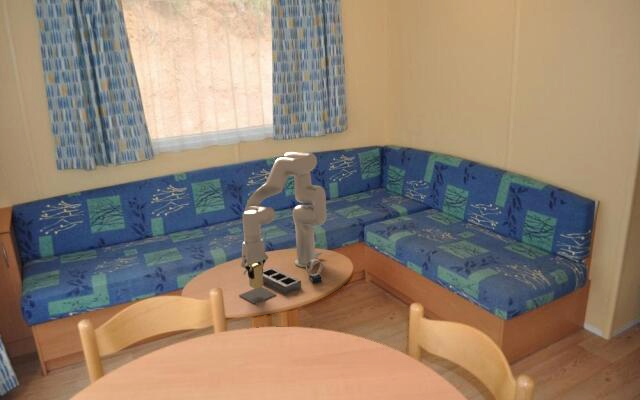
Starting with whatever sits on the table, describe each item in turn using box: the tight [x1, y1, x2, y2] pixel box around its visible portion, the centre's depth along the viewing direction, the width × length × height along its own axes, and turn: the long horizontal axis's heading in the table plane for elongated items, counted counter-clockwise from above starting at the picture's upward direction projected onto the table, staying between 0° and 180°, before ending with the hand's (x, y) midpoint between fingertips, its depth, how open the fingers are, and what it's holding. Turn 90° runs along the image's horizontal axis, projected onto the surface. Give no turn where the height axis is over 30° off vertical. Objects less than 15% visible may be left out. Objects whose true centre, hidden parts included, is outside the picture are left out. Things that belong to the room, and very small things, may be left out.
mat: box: [239, 286, 277, 305], centre depth 218 cm, size 12×12×1 cm
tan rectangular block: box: [248, 263, 264, 289], centre depth 215 cm, size 4×4×10 cm
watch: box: [305, 258, 324, 285], centre depth 228 cm, size 6×8×11 cm
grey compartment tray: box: [263, 267, 302, 295], centre depth 228 cm, size 22×9×4 cm, turn 43°
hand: (255, 276), depth 215 cm, fingers closed on tan rectangular block, 4 cm apart
